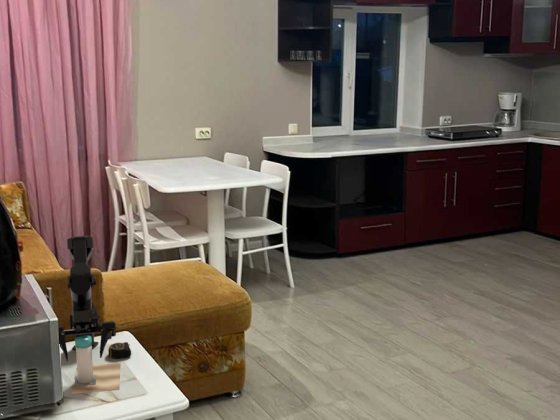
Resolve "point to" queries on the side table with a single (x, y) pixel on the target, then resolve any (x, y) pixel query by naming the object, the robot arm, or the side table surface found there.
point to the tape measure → (119, 350)
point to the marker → (84, 359)
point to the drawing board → (100, 379)
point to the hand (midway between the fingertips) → (84, 359)
